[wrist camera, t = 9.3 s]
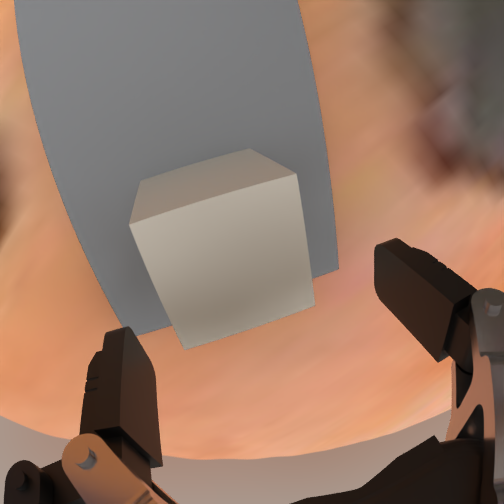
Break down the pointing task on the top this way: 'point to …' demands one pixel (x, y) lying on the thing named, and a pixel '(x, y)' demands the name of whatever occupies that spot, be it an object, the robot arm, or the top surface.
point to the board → (168, 115)
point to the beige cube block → (224, 245)
